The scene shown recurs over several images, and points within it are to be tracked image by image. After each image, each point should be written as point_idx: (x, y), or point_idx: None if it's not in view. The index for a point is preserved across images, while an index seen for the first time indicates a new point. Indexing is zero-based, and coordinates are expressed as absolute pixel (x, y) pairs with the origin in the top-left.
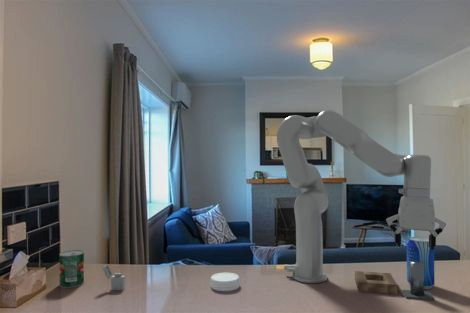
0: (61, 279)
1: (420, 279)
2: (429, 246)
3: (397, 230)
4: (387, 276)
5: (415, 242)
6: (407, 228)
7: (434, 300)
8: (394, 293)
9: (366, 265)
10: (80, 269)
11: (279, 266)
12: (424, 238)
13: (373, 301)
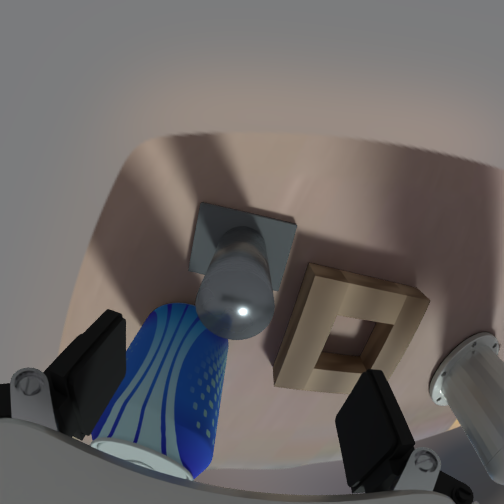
0: None
1: (238, 243)
2: (122, 361)
3: (429, 474)
4: (302, 359)
5: (176, 454)
6: (394, 497)
7: (202, 202)
8: (318, 265)
9: (275, 458)
10: None
11: None
12: None
13: (414, 203)
